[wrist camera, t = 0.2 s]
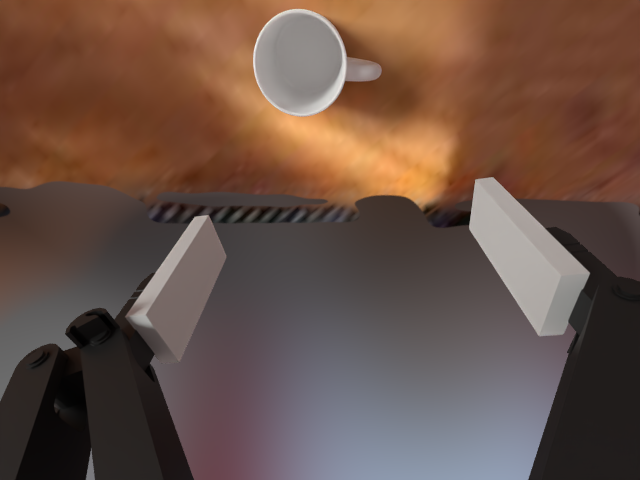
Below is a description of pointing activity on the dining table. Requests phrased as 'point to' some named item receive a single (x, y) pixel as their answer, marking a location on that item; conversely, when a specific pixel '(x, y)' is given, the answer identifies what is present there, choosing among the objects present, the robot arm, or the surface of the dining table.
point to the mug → (305, 63)
